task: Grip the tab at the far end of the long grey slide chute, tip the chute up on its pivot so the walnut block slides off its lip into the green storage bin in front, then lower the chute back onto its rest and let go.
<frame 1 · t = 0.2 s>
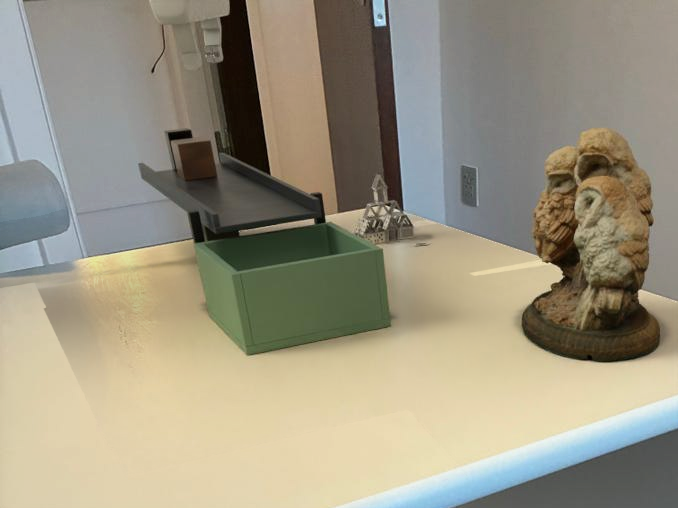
hand: (205, 66, 114), 20 cm above the table, tool pointing down, fingers open, 8 cm apart
stand: (274, 302, 103), on the table
grey slide chute: (217, 171, 108), point 11 cm above the table, hinge at 0.0°, touching block
house of cards: (385, 245, 122), on the table
block: (197, 176, 118), point 9 cm above the table, touching grey slide chute
owl figurine: (586, 333, 90), on the table
green storage bin: (297, 321, 97), on the table
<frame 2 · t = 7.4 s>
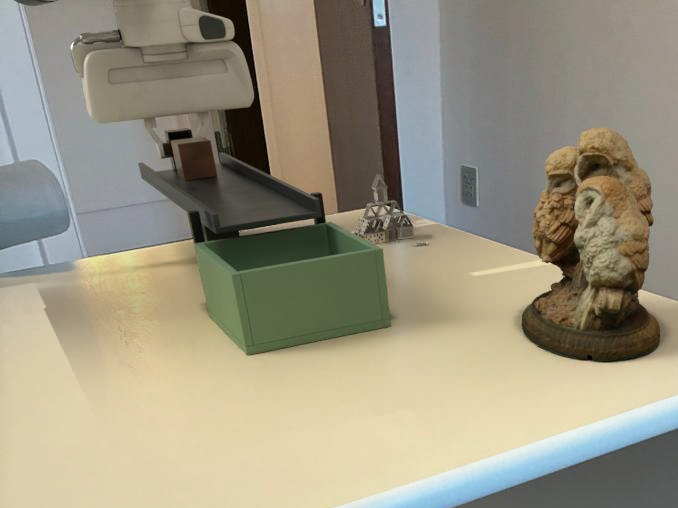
hand: (183, 155, 122), 11 cm above the table, tool pointing down, fingers closed on grey slide chute, 3 cm apart
grey slide chute: (216, 171, 108), point 11 cm above the table, hinge at 0.0°, touching block, gripper
everything else where it was.
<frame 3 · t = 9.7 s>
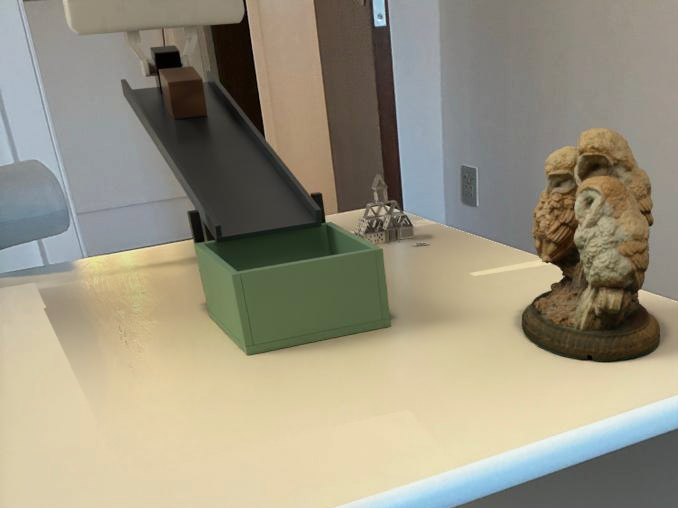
hand: (169, 74, 115), 20 cm above the table, tool pointing down, fingers closed on grey slide chute, 3 cm apart
grey slide chute: (211, 131, 105), point 15 cm above the table, hinge at 15.5°, touching block, gripper
block: (186, 110, 113), point 16 cm above the table, tilted 16°, touching grey slide chute
everything else where it was.
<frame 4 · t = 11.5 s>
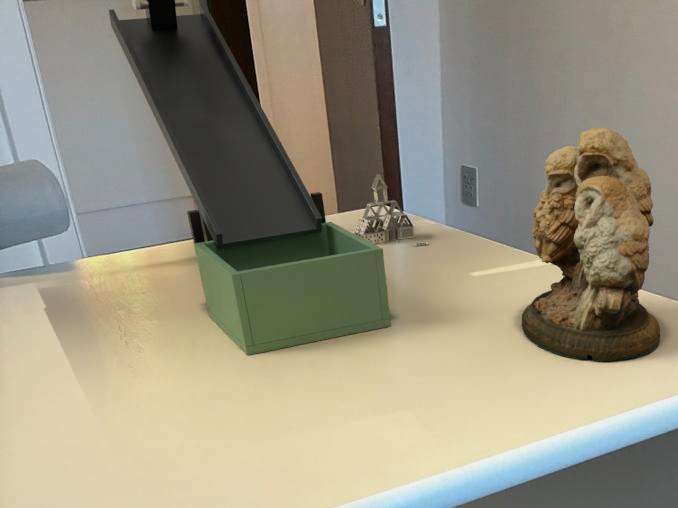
hand: (161, 7, 108), 26 cm above the table, tool pointing down, fingers closed on grey slide chute, 3 cm apart
grey slide chute: (209, 101, 102), point 18 cm above the table, hinge at 28.1°, touching gripper
block: (294, 294, 95), point 3 cm above the table, tilted 90°, touching green storage bin
everything else where it was.
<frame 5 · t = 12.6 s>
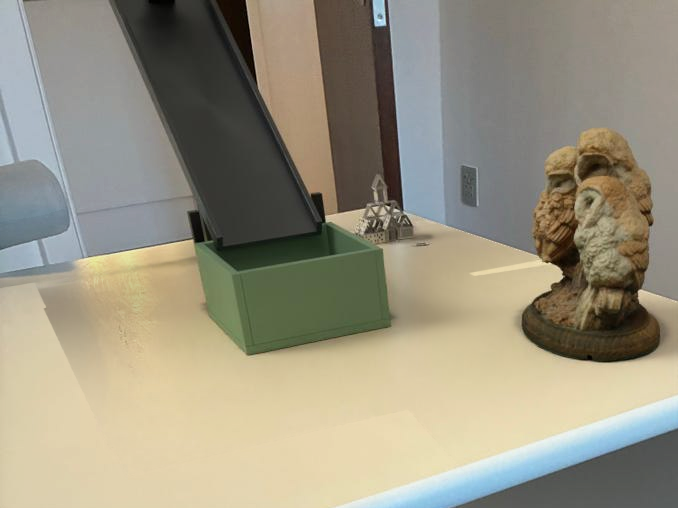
grey slide chute: (208, 89, 101), point 19 cm above the table, hinge at 33.5°, touching green storage bin, gripper
everything else where it was.
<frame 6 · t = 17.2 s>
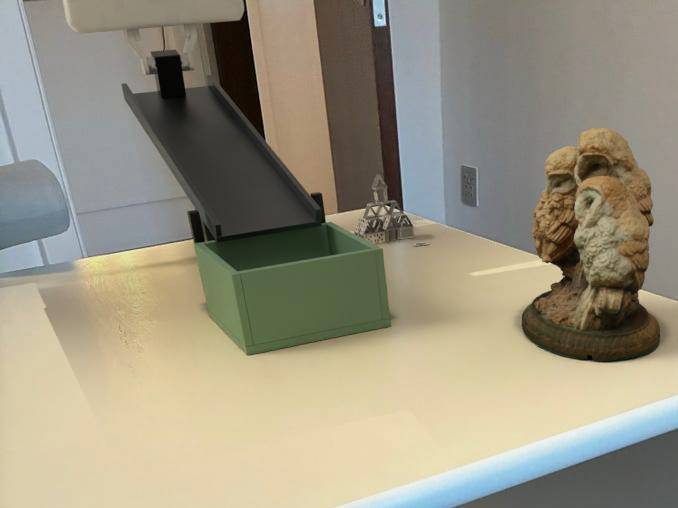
hand: (169, 72, 115), 20 cm above the table, tool pointing down, fingers closed on grey slide chute, 3 cm apart
grey slide chute: (211, 133, 105), point 15 cm above the table, hinge at 14.7°, touching gripper
everything else where it was.
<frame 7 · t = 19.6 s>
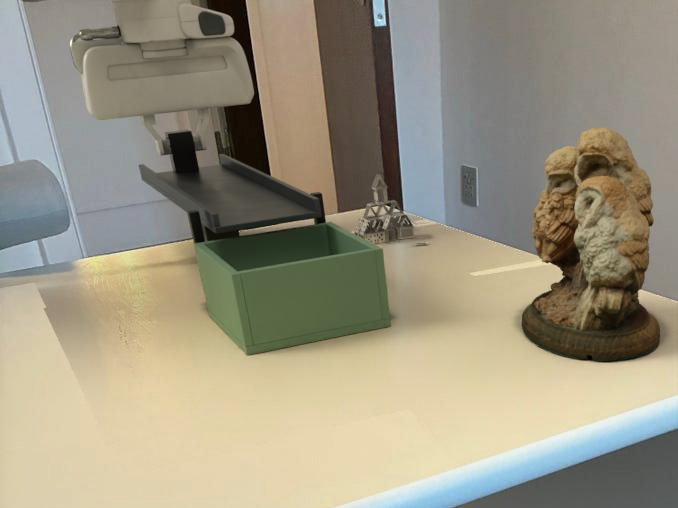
hand: (183, 152, 121), 11 cm above the table, tool pointing down, fingers closed on grey slide chute, 3 cm apart
grey slide chute: (217, 172, 108), point 11 cm above the table, hinge at -0.3°, touching gripper, stand
everything else where it was.
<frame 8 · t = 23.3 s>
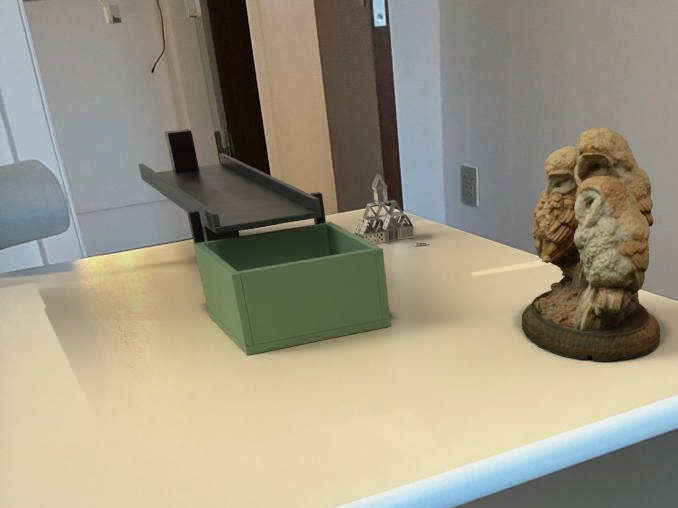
hand: (155, 20, 113), 25 cm above the table, tool pointing down, fingers open, 8 cm apart
grey slide chute: (217, 172, 108), point 11 cm above the table, hinge at -0.2°
everything else where it was.
at the end: block inside the target area in the green storage bin (0.4 cm from its centre), point 2.8 cm above the green storage bin's base; grey slide chute reached +34° during the clip, +0° at the end; grey slide chute at +0° (first picture: +0°) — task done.
